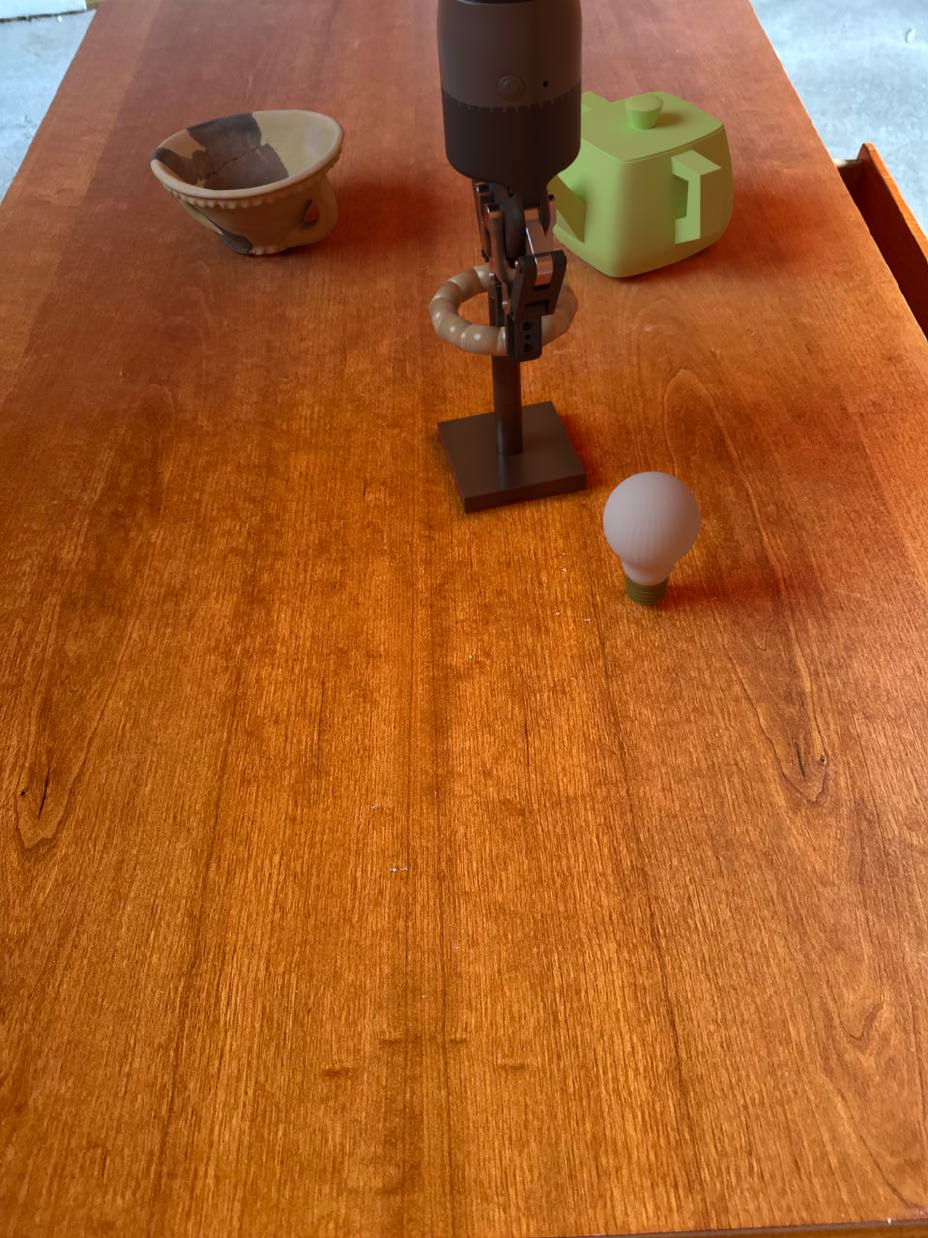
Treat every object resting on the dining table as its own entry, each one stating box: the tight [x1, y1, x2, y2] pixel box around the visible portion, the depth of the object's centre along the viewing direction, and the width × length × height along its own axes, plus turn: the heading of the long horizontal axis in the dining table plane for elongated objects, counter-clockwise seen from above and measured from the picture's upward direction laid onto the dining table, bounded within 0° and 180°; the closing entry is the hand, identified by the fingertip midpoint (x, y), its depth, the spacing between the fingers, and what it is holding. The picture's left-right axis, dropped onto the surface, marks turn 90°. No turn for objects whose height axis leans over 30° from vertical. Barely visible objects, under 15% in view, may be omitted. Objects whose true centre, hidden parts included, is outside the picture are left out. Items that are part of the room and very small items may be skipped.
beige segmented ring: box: [428, 263, 579, 356], centre depth 75 cm, size 10×10×2 cm
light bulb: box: [602, 471, 702, 606], centre depth 71 cm, size 6×6×10 cm
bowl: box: [150, 109, 346, 256], centre depth 106 cm, size 18×18×10 cm
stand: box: [436, 285, 587, 514], centre depth 80 cm, size 9×9×14 cm
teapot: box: [547, 90, 734, 278], centre depth 99 cm, size 18×20×13 cm
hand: (519, 346), depth 73 cm, fingers closed on beige segmented ring, 2 cm apart
